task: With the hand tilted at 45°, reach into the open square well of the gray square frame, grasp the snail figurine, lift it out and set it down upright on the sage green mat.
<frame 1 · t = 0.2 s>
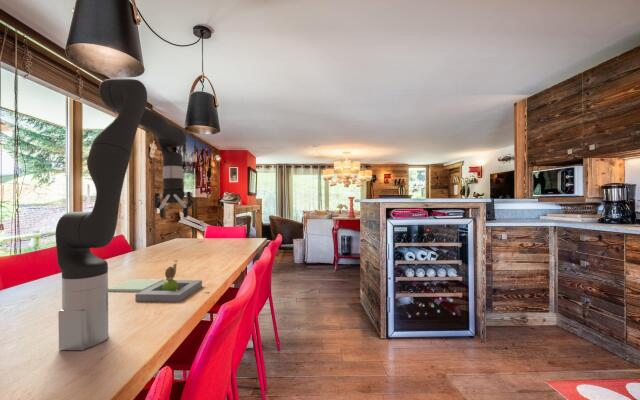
hand: (174, 218, 119), 28 cm above the table, tool pointing down, fingers open, 8 cm apart
green mat: (136, 286, 122), on the table
snail figurine: (171, 293, 114), resting in gray square frame
gray square frame: (171, 293, 114), on the table
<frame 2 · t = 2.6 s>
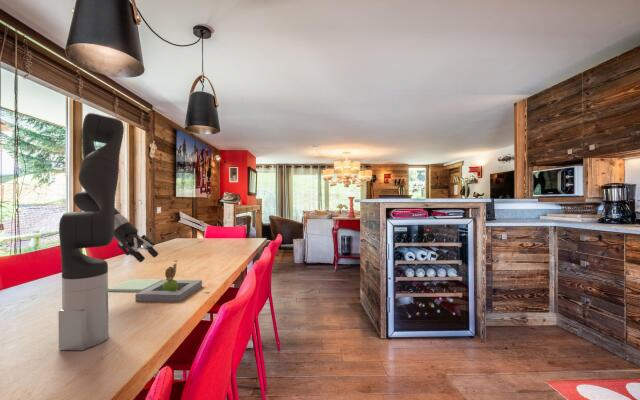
hand: (150, 258, 114), 13 cm above the table, tool tilted 45°, fingers open, 8 cm apart
nothing on the table moved.
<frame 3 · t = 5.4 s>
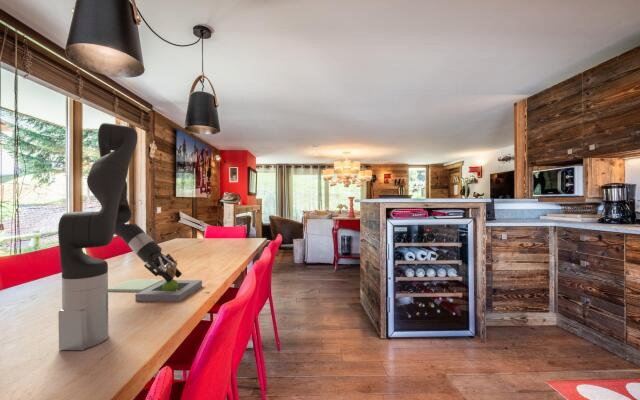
hand: (175, 278, 113), 6 cm above the table, tool tilted 45°, fingers closed on snail figurine, 6 cm apart
snail figurine: (171, 293, 114), resting in gray square frame, touching gripper
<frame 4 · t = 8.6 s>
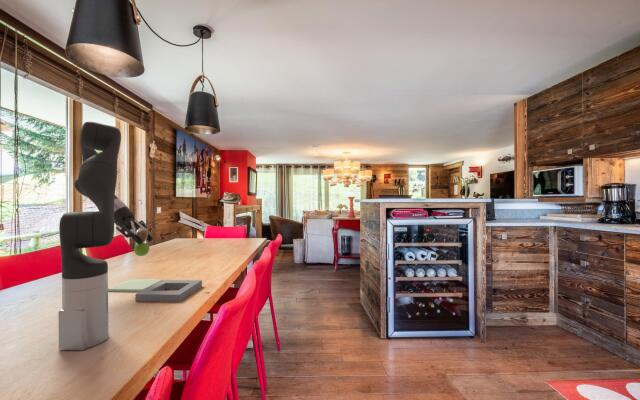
hand: (146, 241, 121), 19 cm above the table, tool tilted 45°, fingers closed on snail figurine, 6 cm apart
snail figurine: (142, 256, 121), point 13 cm above the table, touching gripper
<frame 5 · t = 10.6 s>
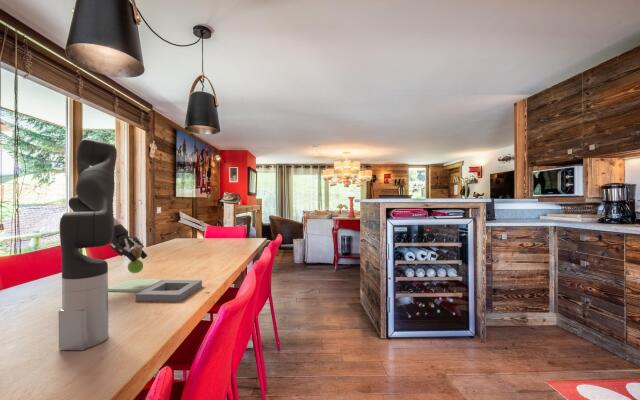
hand: (140, 258, 122), 11 cm above the table, tool tilted 45°, fingers closed on snail figurine, 6 cm apart
snail figurine: (136, 273, 122), point 5 cm above the table, touching gripper
when the fingers open (7 cm above the table, at t = 12.1 s): snail figurine stays where it is, resting on green mat.
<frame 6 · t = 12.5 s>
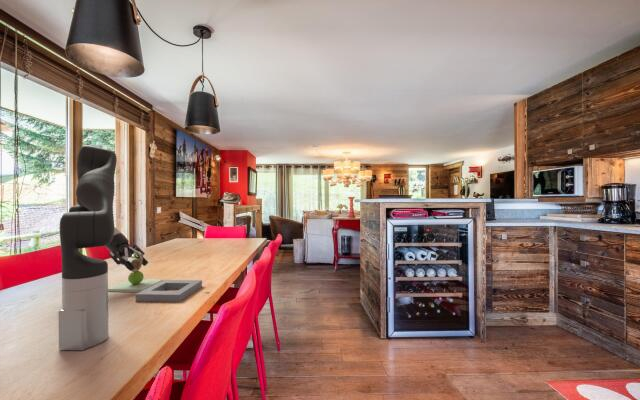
hand: (139, 266, 122), 8 cm above the table, tool tilted 45°, fingers open, 8 cm apart
snail figurine: (136, 284, 123), point 1 cm above the table, touching green mat
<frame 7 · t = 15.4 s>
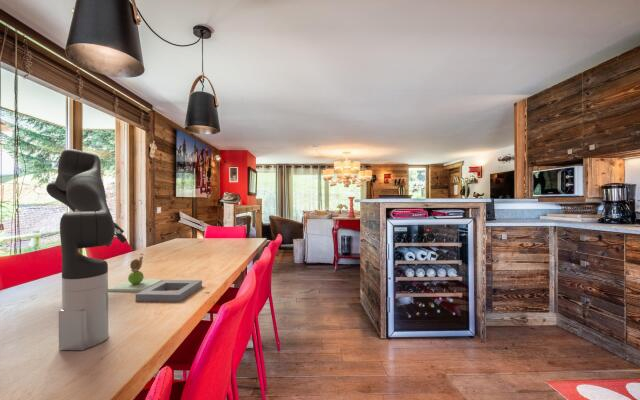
hand: (117, 243, 123), 18 cm above the table, tool tilted 45°, fingers open, 8 cm apart
nothing on the table moved.
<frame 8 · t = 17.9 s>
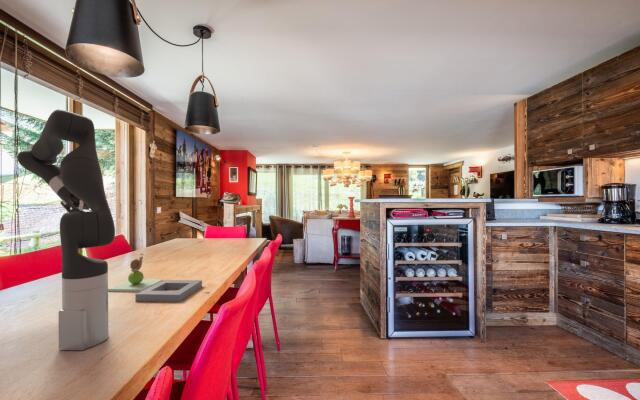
hand: (97, 219, 110), 29 cm above the table, tool tilted 45°, fingers open, 8 cm apart
nothing on the table moved.
at the end: snail figurine inside the target area (0.2 cm from its centre), point 0.8 cm above the table; snail figurine tilted 0°; the gripper is holding nothing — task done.
